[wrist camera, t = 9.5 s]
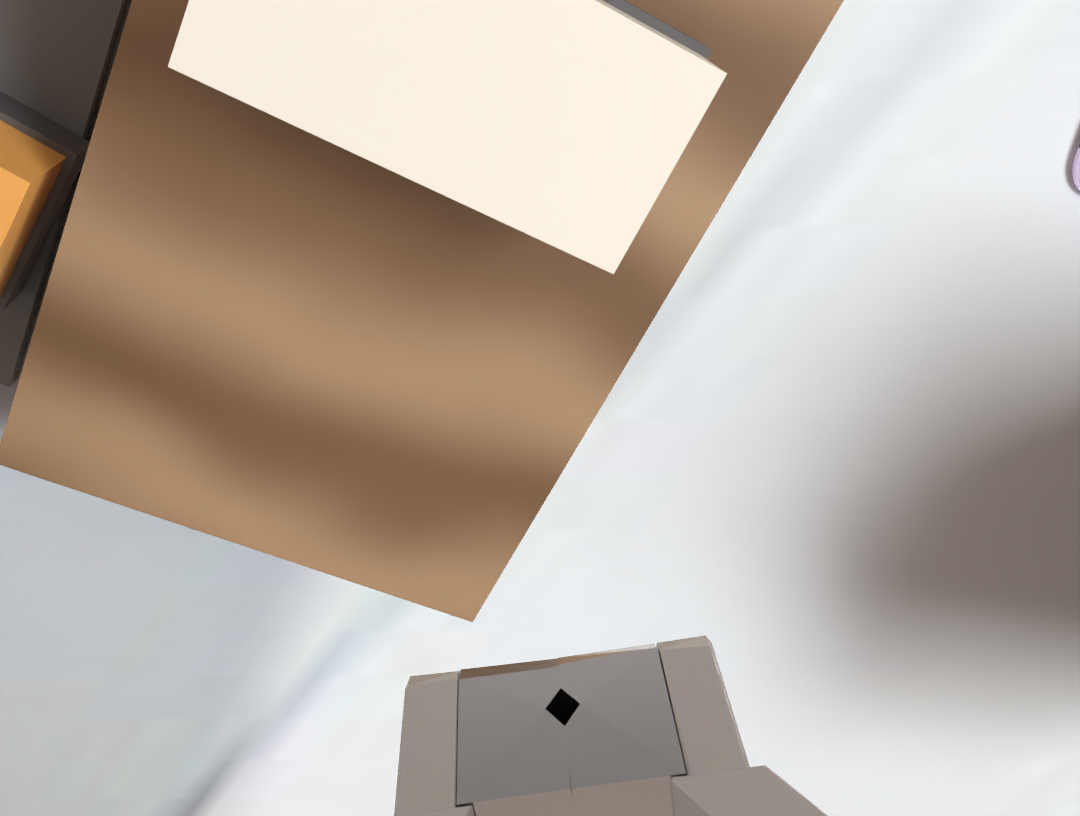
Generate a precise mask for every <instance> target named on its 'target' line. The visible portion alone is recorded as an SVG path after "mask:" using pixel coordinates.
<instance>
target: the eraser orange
mask: <svg viewBox="0 0 1080 816" xmlns="http://www.w3.org/2000/svg"><path fill="white" fill-rule="evenodd" d="M89 143H90V142H89V141H87V140H85V139H84V138H82V137H80V136H78V135H77V134H75V133H73V132H71V131H70V130H68V129H66V128H64V127H63V126H61V125H59V124H57V123H56V122H54V121H52V120H50V119H49V118H47V117H45V116H43V115H42V114H40V113H38V112H36V111H35V110H33V109H31V108H29V107H28V106H26V105H24V104H22V103H21V102H19V101H17V100H15V99H14V98H12V97H10V96H8V95H7V94H5V93H3V92H1V91H0V308H2V309H5V308H6V307H7V306H8V305H9V304H10V303H11V302H12V301H13V300H14V299H15V298H16V297H17V296H18V295H19V294H20V293H21V292H22V290H23V288H24V286H25V284H26V282H27V279H28V277H29V275H30V273H31V271H32V269H33V267H34V265H35V263H36V261H37V259H38V257H39V254H40V252H41V250H42V248H43V246H44V244H45V242H46V240H47V238H48V236H49V234H50V232H51V229H52V227H53V225H54V223H55V221H56V219H57V217H58V215H59V213H60V211H61V209H62V206H63V204H64V202H65V200H66V198H67V196H68V194H69V192H70V190H71V188H72V186H73V184H74V181H75V179H76V177H77V175H78V173H79V171H80V169H81V167H82V165H83V163H84V160H85V157H86V153H87V150H88V146H89Z"/></svg>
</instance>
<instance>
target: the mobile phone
mask: <svg viewBox="0 0 1080 816" xmlns="http://www.w3.org/2000/svg"><path fill="white" fill-rule="evenodd" d="M1072 174H1073V180H1074V183H1075V185H1076V187H1077V189H1078V190H1079V191H1080V144H1079V146H1078V149H1077V152H1076V155H1075V159H1074V163H1073V170H1072Z"/></svg>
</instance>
